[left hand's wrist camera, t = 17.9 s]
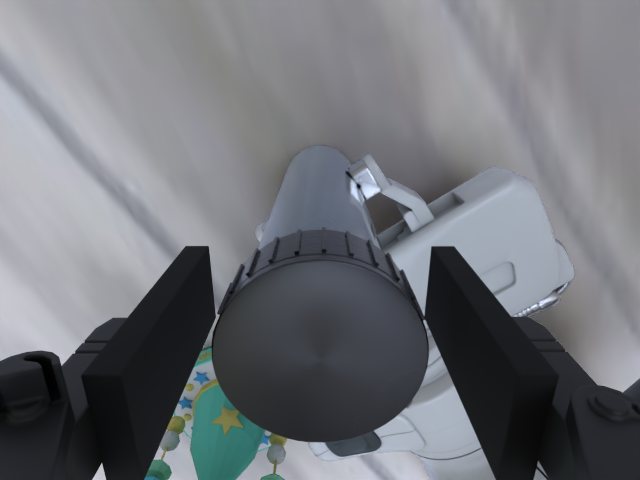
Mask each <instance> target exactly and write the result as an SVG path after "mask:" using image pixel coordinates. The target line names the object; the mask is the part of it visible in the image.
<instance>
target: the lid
mask: <svg viewBox="0 0 640 480" xmlns="http://www.w3.org/2000/svg"><path fill="white" fill-rule="evenodd" d="M217 314H220V316H219V319H218V321H217V324H216V326H215V329H214V331H213V338H212V349H211V352H212V363H213V368H214V372H215V375H216V378H217V381H218V383H219V386H220V387H221V389H222V391H223V393H224V394H225V396H226V397H227V399H228V400H229V401H230V403H231V404H232V405H233V406H234V407H235V408H236V409H237V410H238V411H239V412H240V413H241V414H242V415H243V416H244V417H246V418H247V419H248V420H249V421H251V422H252V423H254V424H256V425H257V426H259V427H260V428H262V429H264V430H267V431H269V432H271V433H273V434H276V435H279V436H282V437H285V438H288V439H293V440H297V441H305V442H321V443H325V442H337V441H343V440H348V439H352V438H356V437H359V436H362V435H365V434H367V433H370V432H372V431H374V430H376V429H378V428H380V427H382V426H384V425H385V424H387V423H388V422H389V421H391V420H392V419H394V418H395V417H396V416H397V415H398V414H400V413H401V412H402V411H403V410H404V409H405V408H406V407H407V406H408V404H409V403H410V402H411V401H412V400H413V398H414V397H415V395H416V393H417V392H418V390H419V388H420V386H421V384H422V382H423V380H424V377H425V373H426V370H427V366H428V359H429V342H428V336H427V331H426V328H425V325H424V322H423V320H425V317H424V314H423V312H422V310H421V308H420V305H419V303H418V301H417V299H416V296H415V294H414V292H413V290H412V288H411V286H410V283H409V281H408V279H407V277H406V274H405V272H404V270H403V269H402V270H400V269H399V268H398V267H397V265H396V264H395V263H394V261H393V259H392V257H391V254H389V253H387V254H386V253H384V252H383V251H382V250H381V249H379V248H378V247H377V246H375V245H373V242H372V240H370V239H369V240H368V241H367V240H364V239H362V238H360V237H357V236H355V235H352V234H350V231H346V233H345V232H340V231H333V230H326V228H325V227H322V230H307V231H301V229H299V230H297V232H296V233H292V234H289V235H286V236H283V237H280V238H279V237H278V236H277V237H275V238H274V241H272V242H270V243H268V244H267V245H266V246H264V247H263V248H261V249H260V250H259V249H258V248H257V249H256V250H255V251H254V253H253V256H252V257H251V258H250V259H249V260H248V261H247V262H246V263H245V265H242V264H241V265H240V267H239V269H238V271H237V274H236V276H235V278H234V280H233V283H230V285H229V288H228V290H227V292H226V294H225V297H224V299H223V301H222V303H221V306H220V308H219V310H218V313H217Z"/></svg>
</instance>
